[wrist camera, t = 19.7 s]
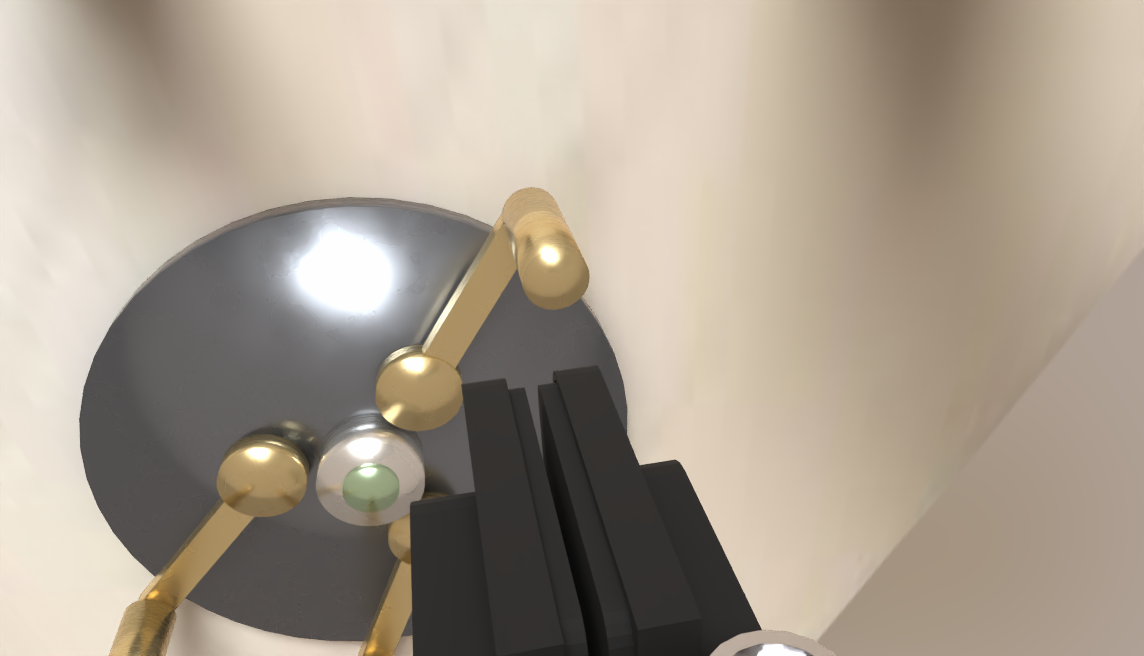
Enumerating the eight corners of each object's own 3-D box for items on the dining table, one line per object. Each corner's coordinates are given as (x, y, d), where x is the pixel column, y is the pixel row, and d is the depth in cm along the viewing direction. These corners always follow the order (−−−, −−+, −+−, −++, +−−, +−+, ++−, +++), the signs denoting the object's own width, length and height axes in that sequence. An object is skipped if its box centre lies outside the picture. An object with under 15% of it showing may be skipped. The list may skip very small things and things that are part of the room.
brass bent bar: (437, 427, 41) (445, 534, 34) (361, 398, 39) (354, 505, 32) (579, 202, 36) (620, 275, 30) (500, 159, 35) (524, 226, 28)
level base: (640, 189, 38) (664, 220, 35) (606, 596, 51) (622, 648, 47) (18, 206, 33) (-24, 243, 30) (150, 650, 46) (131, 711, 43)
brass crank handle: (401, 484, 42) (403, 599, 35) (476, 499, 43) (491, 612, 37) (331, 663, 47) (321, 792, 40) (400, 671, 48) (401, 797, 42)
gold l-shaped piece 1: (251, 420, 38) (221, 533, 32) (325, 458, 40) (312, 573, 34) (105, 598, 42) (52, 734, 35) (180, 626, 44) (142, 760, 37)
